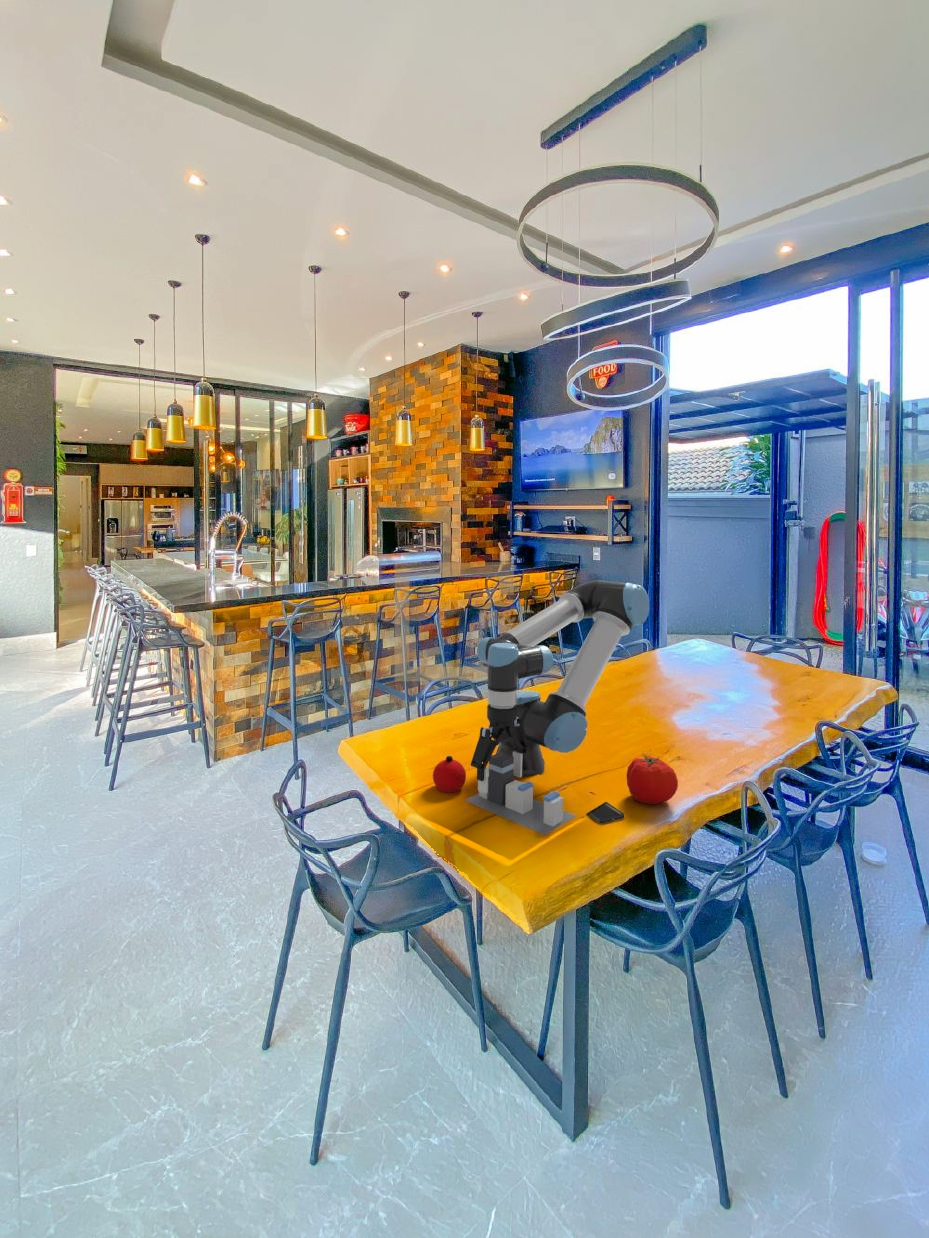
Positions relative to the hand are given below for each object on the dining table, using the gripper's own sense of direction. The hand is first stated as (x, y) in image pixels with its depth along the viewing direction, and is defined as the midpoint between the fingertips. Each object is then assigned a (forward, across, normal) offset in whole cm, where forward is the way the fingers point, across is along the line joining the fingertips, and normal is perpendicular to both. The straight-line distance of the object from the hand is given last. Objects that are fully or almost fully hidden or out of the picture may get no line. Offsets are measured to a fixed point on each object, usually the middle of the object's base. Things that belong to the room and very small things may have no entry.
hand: (500, 783), depth 166 cm
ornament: (+6, +4, -15) cm, 17 cm away
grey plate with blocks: (+6, 0, +6) cm, 8 cm away
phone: (+6, -15, +19) cm, 25 cm away
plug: (+5, 0, 0) cm, 5 cm away
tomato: (+6, -29, +27) cm, 40 cm away
